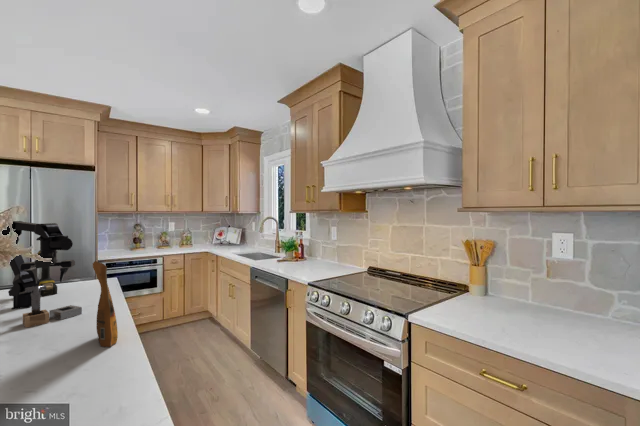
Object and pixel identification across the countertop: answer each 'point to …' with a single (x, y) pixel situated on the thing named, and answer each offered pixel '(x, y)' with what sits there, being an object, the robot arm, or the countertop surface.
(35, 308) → the chuck key
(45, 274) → the cordless drill
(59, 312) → the block
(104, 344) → the curved wooden sculpture
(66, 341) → the countertop surface
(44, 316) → the wooden square frame
